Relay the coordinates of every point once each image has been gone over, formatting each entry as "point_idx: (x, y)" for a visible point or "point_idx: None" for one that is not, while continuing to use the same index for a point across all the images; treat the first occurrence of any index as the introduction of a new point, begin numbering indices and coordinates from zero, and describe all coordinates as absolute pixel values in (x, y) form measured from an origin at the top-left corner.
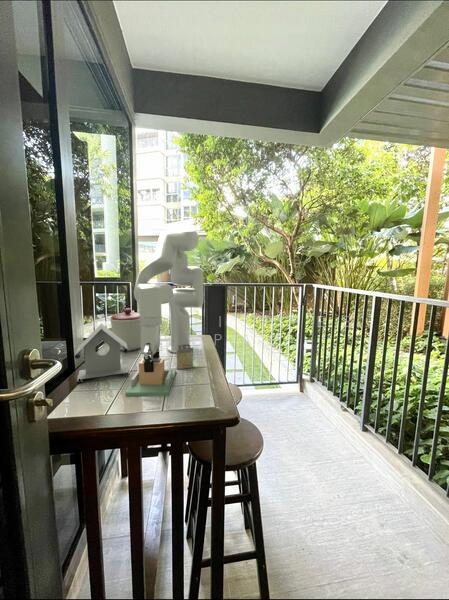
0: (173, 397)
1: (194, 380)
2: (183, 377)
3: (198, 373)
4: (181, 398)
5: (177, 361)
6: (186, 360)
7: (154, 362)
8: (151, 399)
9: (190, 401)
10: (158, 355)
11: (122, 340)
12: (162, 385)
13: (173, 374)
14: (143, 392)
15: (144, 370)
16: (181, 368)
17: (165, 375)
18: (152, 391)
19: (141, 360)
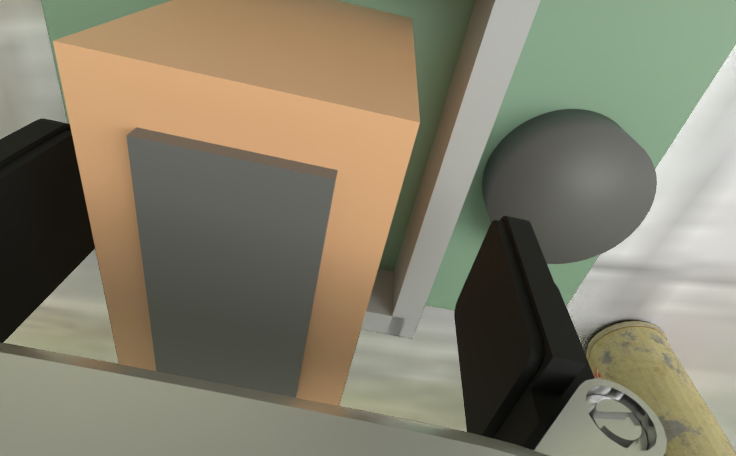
0: (89, 256)
1: None
2: (413, 337)
3: (452, 412)
4: (84, 294)
5: (643, 381)
6: None
7: (134, 323)
8: (24, 108)
9: (57, 329)
10: (463, 389)
11: None
12: None
13: (436, 301)
14: (50, 41)
15: (28, 130)
16: (589, 349)
17: (402, 252)
18: None
19: (243, 103)
